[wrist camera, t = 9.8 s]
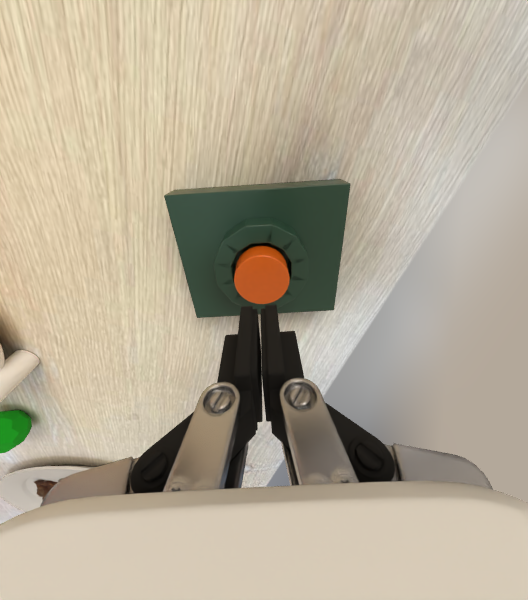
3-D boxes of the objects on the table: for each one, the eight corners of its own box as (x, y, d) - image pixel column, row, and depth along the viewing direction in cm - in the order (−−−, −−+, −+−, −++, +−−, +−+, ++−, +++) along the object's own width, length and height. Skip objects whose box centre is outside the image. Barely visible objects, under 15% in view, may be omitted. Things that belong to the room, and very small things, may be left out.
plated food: (121, 444, 37) (109, 469, 34) (195, 508, 53) (192, 528, 50) (-37, 468, 40) (-59, 492, 38) (78, 521, 57) (69, 540, 54)
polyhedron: (26, 401, 30) (-8, 440, 27) (48, 422, 33) (19, 460, 29) (-12, 403, 31) (-52, 442, 27) (13, 424, 33) (-21, 462, 29)
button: (287, 243, 16) (289, 253, 14) (287, 289, 18) (289, 303, 16) (232, 246, 16) (230, 257, 14) (239, 292, 18) (237, 306, 16)
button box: (340, 179, 17) (360, 187, 14) (327, 296, 22) (339, 323, 19) (173, 189, 17) (153, 201, 14) (201, 303, 23) (192, 331, 19)
